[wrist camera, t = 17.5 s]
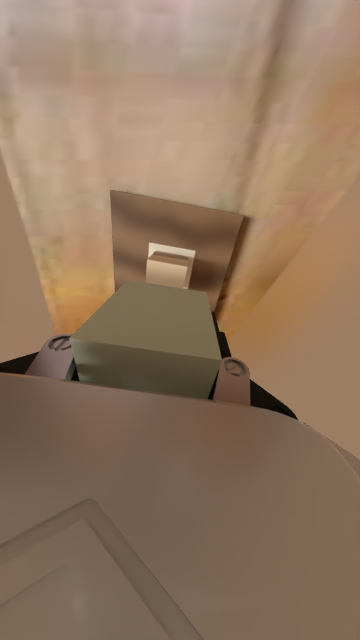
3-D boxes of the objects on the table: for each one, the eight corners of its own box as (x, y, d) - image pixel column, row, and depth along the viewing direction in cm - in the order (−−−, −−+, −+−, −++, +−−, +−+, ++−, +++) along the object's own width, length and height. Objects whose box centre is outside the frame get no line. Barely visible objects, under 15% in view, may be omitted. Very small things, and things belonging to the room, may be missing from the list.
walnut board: (115, 191, 24) (109, 189, 22) (240, 215, 25) (244, 215, 23) (119, 304, 33) (115, 309, 32) (209, 319, 34) (210, 324, 32)
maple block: (155, 250, 26) (147, 259, 21) (187, 256, 26) (187, 266, 21) (152, 281, 28) (144, 296, 23) (182, 287, 29) (180, 302, 24)
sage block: (127, 279, 11) (69, 338, 5) (206, 292, 11) (222, 360, 6) (128, 342, 13) (89, 421, 8) (192, 351, 13) (193, 435, 8)
